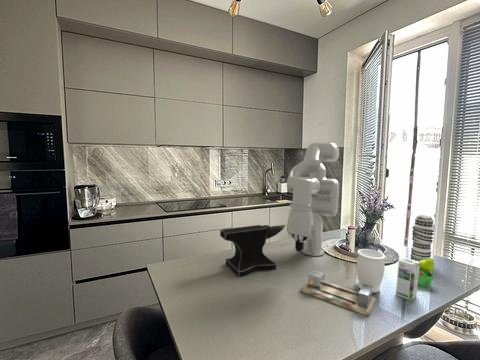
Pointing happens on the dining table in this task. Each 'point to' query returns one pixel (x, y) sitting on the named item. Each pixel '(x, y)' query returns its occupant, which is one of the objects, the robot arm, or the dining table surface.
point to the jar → (370, 268)
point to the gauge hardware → (364, 294)
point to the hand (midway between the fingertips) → (299, 250)
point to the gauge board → (339, 300)
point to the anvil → (250, 248)
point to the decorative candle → (422, 238)
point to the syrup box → (407, 278)
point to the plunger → (316, 279)
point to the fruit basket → (425, 272)
